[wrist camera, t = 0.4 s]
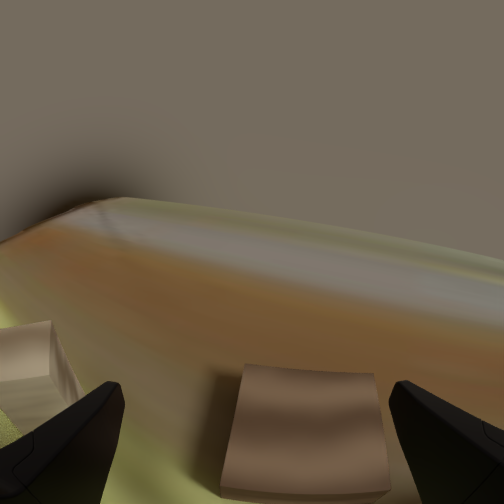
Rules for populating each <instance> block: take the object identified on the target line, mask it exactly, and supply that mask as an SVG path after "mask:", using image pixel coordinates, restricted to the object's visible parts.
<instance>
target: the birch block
mask: <svg viewBox="0 0 504 504" xmlns="http://www.w3.org/2000/svg"><path fill="white" fill-rule="evenodd" d="M84 396H86V395H85V393H84V391H83V389H82V387H81V385H80V383H79V381H78V379H77V377H76V375H75V373H74V371H73V369H72V367H71V365H70V363H69V361H68V359H67V357H66V354H65V352H64V350H63V348H62V345H61V343H60V341H59V338H58V336H57V334H56V331H55V329H54V326H53V324H52V321H51V320H49V321H43V322H38V323H32V324H27V325H21V326H15V327H9V328H4V329H0V408H1V409H2V411H3V412H4V413H5V414H6V416H7V417H8V418H9V419H10V420H11V422H12V423H13V424H14V425H15V426H16V427H17V428H18V430H19V431H20V432H21V433H22V434H23V435H26V434H27V433H29V432H31V431H33V430H34V429H35V428H37V427H38V426H40V425H42V424H43V423H45V422H46V421H48V420H49V419H51V418H52V417H54V416H55V415H57V414H58V413H60V412H61V411H63V410H65V409H66V408H68V407H69V406H71V405H72V404H74V403H75V402H77V401H78V400H80V399H81V398H83V397H84Z"/></svg>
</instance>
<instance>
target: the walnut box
mask: <svg viewBox="0 0 504 504" xmlns="http://www.w3.org/2000/svg"><path fill="white" fill-rule="evenodd" d="M390 490H391V483H390V474H389V465H388V457H387V450H386V443H385V436H384V429H383V423H382V417H381V411H380V405H379V400H378V394H377V389H376V384H375V379H374V374H373V373H345V372H326V371H312V370H299V369H288V368H279V367H269V366H261V365H253V364H245V365H244V370H243V375H242V380H241V385H240V390H239V395H238V400H237V405H236V410H235V415H234V419H233V424H232V429H231V434H230V439H229V443H228V448H227V453H226V458H225V462H224V467H223V472H222V476H221V481H220V494H221V498H225V499H231V500H238V501H245V502H254V503H264V504H366V503H373V502H375V501H376V500H378V499H379V498H380V497H382V496H383V495H385V494H386V493H387V492H389V491H390Z"/></svg>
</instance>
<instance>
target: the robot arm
mask: <svg viewBox="0 0 504 504" xmlns="http://www.w3.org/2000/svg"><path fill="white" fill-rule="evenodd" d="M124 408H125V401H124V397H123V393H122V389H121V386H120V384H119V383H117V382H111V381H107V382H105V383H103V384H102V385H100V386H99V387H97V388H96V389H95V390H93V391H92V392H90V393H89V394H87V395H86V396H84V397H83V398H81V399H80V400H78V401H77V402H75V403H74V404H72V405H71V406H69V407H68V408H66V409H65V410H63V411H61V412H60V413H58V414H57V415H55V416H54V417H52V418H51V419H49V420H48V421H46V422H45V423H43V424H42V425H40V426H38V427H37V428H35V429H34V430H33V431H31V432H29V433H27V434H26V435H24V436H23V437H21V438H19V439H18V440H16V441H14V442H13V443H11V444H9V445H7V446H5V447H3V448H1V449H0V504H100V502H101V498H102V495H103V491H104V488H105V484H106V481H107V477H108V474H109V471H110V467H111V464H112V461H113V458H114V454H115V451H116V448H117V444H118V439H119V434H120V428H121V423H122V418H123V413H124ZM389 408H390V411H391V415H392V418H393V422H394V425H395V429H396V433H397V436H398V439H399V442H400V445H401V447H402V450H403V453H404V455H405V458H406V460H407V463H408V465H409V468H410V471H411V473H412V476H413V479H414V481H415V484H416V487H417V490H418V493H419V495H420V498H421V501H422V504H504V430H501V429H499V428H497V427H495V426H493V425H491V424H489V423H487V422H485V421H481V419H479V418H477V417H475V416H473V415H471V414H469V413H467V412H465V411H464V410H462V409H460V408H458V407H456V406H454V405H452V404H450V403H448V402H446V401H445V400H443V399H441V398H439V397H437V396H435V395H433V394H432V393H430V392H428V391H426V390H424V389H422V388H421V387H419V386H417V385H415V384H413V383H412V382H410V381H408V380H404V381H398V382H396V383H395V385H394V388H393V390H392V393H391V395H390V398H389Z"/></svg>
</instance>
